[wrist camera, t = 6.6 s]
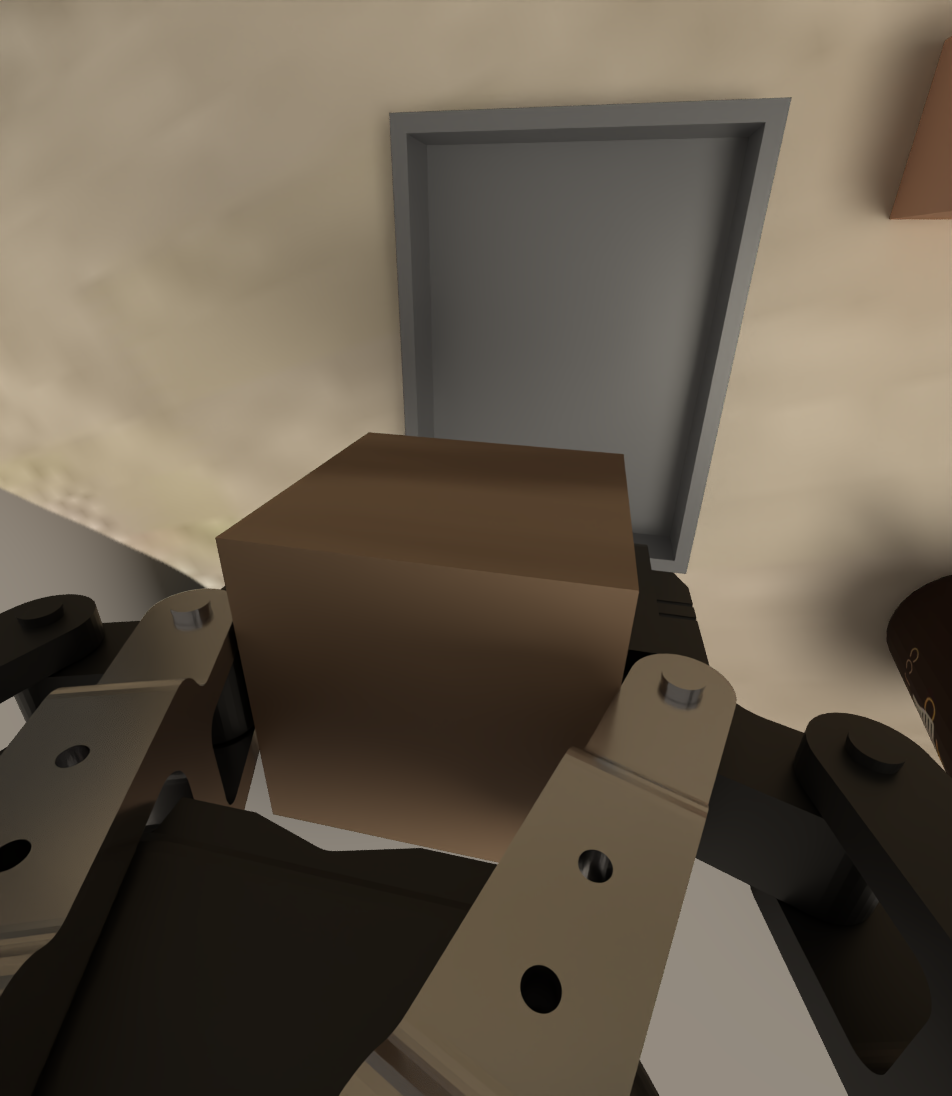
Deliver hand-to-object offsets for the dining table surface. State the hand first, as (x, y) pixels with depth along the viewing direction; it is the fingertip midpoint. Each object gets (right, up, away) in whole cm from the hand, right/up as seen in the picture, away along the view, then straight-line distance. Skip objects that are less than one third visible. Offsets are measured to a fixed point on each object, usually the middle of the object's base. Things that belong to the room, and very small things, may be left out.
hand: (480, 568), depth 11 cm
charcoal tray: (+4, +9, +14) cm, 17 cm away
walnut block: (0, 0, 0) cm, 0 cm away
